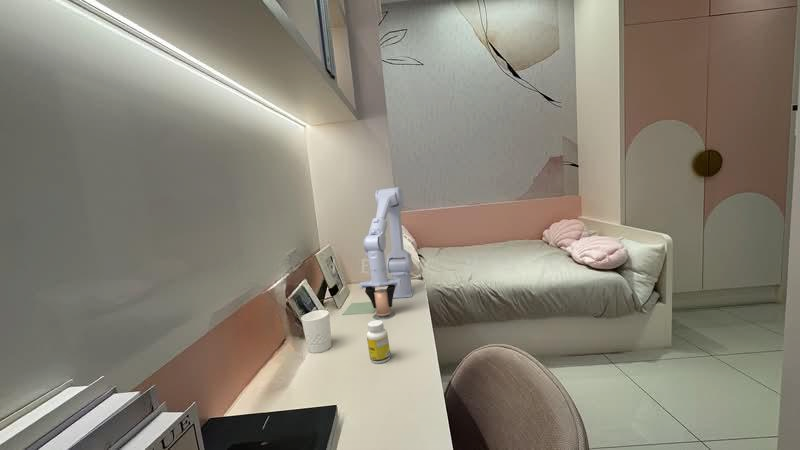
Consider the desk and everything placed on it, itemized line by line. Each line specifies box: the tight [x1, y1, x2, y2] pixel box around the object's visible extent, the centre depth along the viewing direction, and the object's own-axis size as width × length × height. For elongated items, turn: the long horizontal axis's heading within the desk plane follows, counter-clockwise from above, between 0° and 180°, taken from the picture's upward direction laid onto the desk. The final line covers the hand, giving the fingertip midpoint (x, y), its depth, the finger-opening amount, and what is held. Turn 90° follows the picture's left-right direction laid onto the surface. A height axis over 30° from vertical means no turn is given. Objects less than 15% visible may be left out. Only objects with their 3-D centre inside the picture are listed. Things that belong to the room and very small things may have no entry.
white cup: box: [300, 309, 333, 354], centre depth 102 cm, size 8×8×10 cm
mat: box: [342, 301, 376, 316], centre depth 133 cm, size 12×12×1 cm
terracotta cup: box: [374, 288, 392, 316], centre depth 122 cm, size 5×5×8 cm
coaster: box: [372, 311, 396, 321], centre depth 122 cm, size 8×8×1 cm
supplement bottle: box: [366, 319, 391, 364], centre depth 90 cm, size 5×5×10 cm
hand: (383, 306), depth 122 cm, fingers closed on terracotta cup, 5 cm apart
